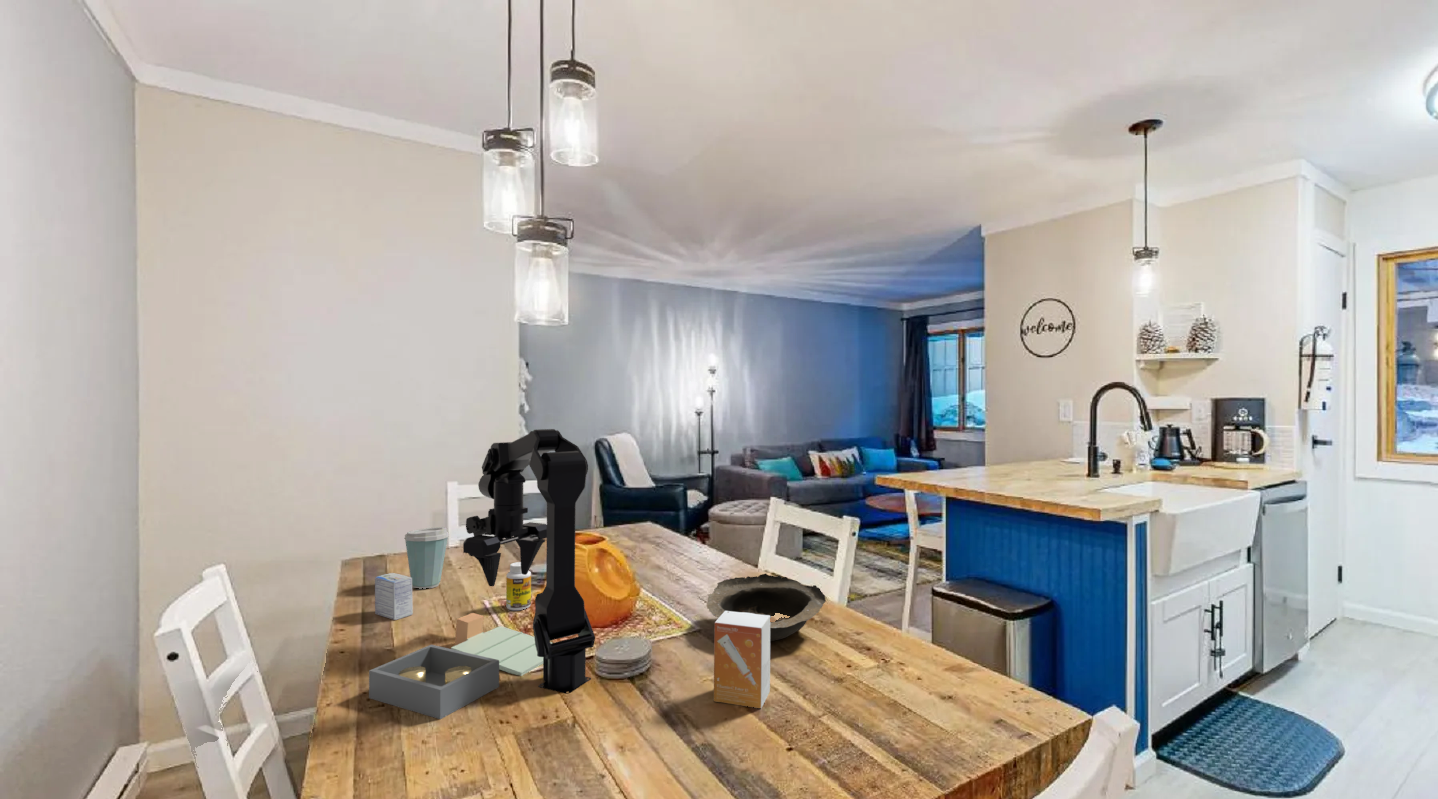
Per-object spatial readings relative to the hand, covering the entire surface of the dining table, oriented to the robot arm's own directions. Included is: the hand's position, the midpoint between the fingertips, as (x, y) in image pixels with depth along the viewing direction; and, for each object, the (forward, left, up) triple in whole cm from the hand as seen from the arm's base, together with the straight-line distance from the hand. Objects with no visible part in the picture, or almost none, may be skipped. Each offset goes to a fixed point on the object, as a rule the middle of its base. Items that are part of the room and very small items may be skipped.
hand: (508, 580), depth 128 cm
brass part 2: (-11, +23, -11) cm, 27 cm away
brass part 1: (-4, +26, -11) cm, 28 cm away
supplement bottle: (+12, -16, -12) cm, 23 cm away
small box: (-53, +3, -12) cm, 54 cm away
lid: (-5, +7, -13) cm, 15 cm away
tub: (-7, +24, -12) cm, 28 cm away
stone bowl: (-46, -26, -12) cm, 54 cm away
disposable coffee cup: (+46, -19, -12) cm, 51 cm away
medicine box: (+34, 0, -12) cm, 36 cm away
